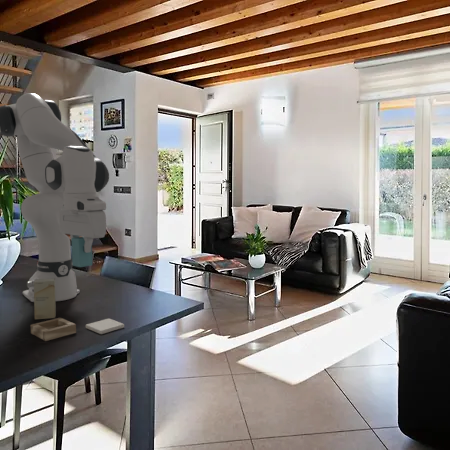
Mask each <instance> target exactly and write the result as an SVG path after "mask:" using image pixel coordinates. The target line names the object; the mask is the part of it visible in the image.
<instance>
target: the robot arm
mask: <svg viewBox="0 0 450 450" xmlns="http://www.w3.org/2000/svg"><path fill="white" fill-rule="evenodd" d="M0 134H1V135H2V136H4V137H14V136H16V142H17V143H16V144H17V150H18V154H19V155H18V156H19V158H20V161H21V164H22V168H23V170H24V175H25V177H26V180H27V182H28V183H29V184H30V185H31V186H33V187H34V188H35V189H36V190H37V191H38V192H39V193H36V194H33V195H30V196H27V197H26V198H24V199H23V200H22V203H21V206H20V211H21V215H22V217H23V219H24V220H25V222H28V224H30V226H31V227H32V230H33V231H34V233H35V236H36V240H37V247H38V260H37V261H36V262H37V263H36V271H35V272H34V273H33V275H32V276H31V277H29V279H28V281H27V282H26V287H27V288H28V289H26V290H23V291H22V295H23V296H24V297H25V298H26V299H28V300H29V301H30V302H31V303H34V280H35V279H51V278H55V302H61V301H66V300H67V301H68V300H70V299H73V298H76V297H77V295H78V294H80V289H78V286H77V285H78V284H77V277H76V272H75V271H74V270H73V262H72V248H71V242H72V238H77V237H84V241H85V244H84V246H83V252H86V253H88V252H91V245H92V246H93V242H94V239H101V238H103V239H104V238H105V236H106V234H107V217H106V212H105V211H106V209H107V203H106V202H105V201H103V200H102V199H100V198H99V197H98V196H97V193H99V192H101V191H102V190H103V189H105V187H106V186H107V185H108V182H109V180H110V172H109V169H108V167H107V166H106V164H105V163H104V162H103V161H102V160H101V159H100V158H99V157H97V156H96V155H95V154H94V153H93V150H92V149H90V148H89V147H88V145H87V144H86V143H85V142H84V140H83V139H82V138H81V136H79V135H78V134H77V132H75V131H74V130H72V129H71V128H69V126H67V125H65V124H64V123H63V122H62V111H61V109H60V108H59V105H58V104H57V103H56V101H54V100H50V99H43V98H42V97H41V96H40V95H38V94H36V93H31V92H27V93H25V94H22V95H20V96H19V97H18V98H17V100H16V102H15V103H13V104H8V105H7V104H4V105H0ZM51 149H54V150H58V151H62V154H60V155H59V157H56V158H55V159H54V156H53V152H52V150H51ZM68 235H70V237H69V236H68Z"/></svg>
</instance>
